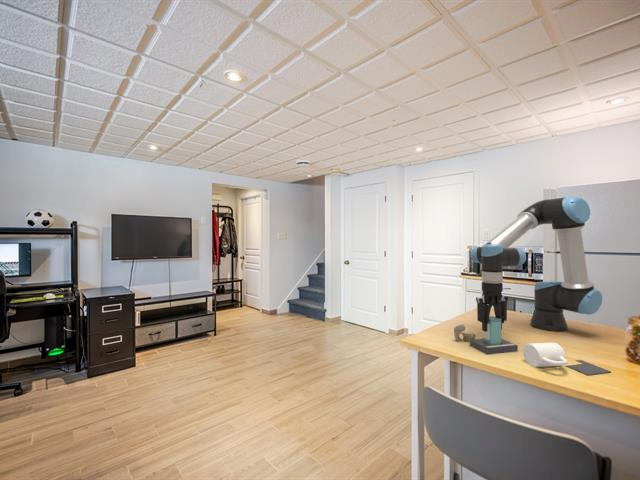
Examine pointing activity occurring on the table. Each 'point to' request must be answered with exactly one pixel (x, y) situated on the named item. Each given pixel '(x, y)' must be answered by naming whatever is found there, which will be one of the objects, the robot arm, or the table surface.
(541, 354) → the mug
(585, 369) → the mat
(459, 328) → the bone
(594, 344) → the table surface
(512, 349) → the grey socket block
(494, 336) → the plug
